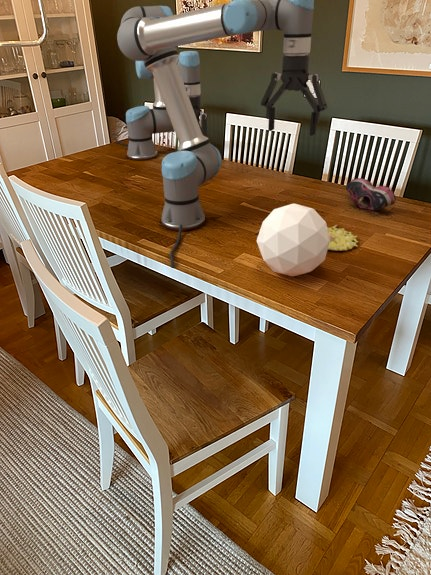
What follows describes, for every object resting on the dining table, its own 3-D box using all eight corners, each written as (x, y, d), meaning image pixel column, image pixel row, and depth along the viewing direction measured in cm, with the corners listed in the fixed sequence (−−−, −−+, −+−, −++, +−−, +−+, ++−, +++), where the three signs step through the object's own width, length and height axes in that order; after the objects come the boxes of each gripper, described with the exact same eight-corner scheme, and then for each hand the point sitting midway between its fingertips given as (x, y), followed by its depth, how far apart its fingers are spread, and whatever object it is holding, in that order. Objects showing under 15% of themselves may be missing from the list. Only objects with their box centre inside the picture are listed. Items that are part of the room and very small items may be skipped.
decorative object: (343, 255, 128) (285, 234, 139) (342, 262, 130) (284, 241, 140) (372, 230, 142) (317, 213, 152) (371, 237, 143) (316, 219, 153)
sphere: (300, 299, 125) (311, 272, 106) (242, 261, 130) (243, 230, 111) (335, 249, 130) (352, 215, 111) (278, 215, 135) (285, 177, 116)
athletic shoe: (355, 177, 172) (330, 185, 168) (397, 172, 152) (371, 180, 148) (360, 206, 174) (336, 214, 171) (402, 204, 155) (376, 213, 151)
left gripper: (167, 95, 175) (172, 154, 188) (204, 98, 168) (207, 160, 180) (178, 92, 181) (182, 150, 193) (215, 95, 173) (216, 155, 186)
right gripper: (250, 54, 127) (249, 130, 139) (335, 56, 116) (326, 139, 127) (262, 52, 133) (260, 125, 144) (344, 54, 121) (334, 133, 133)
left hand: (194, 154), depth 187 cm, fingers closed on cosmetic box, 4 cm apart
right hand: (291, 132), depth 136 cm, fingers open, 13 cm apart
